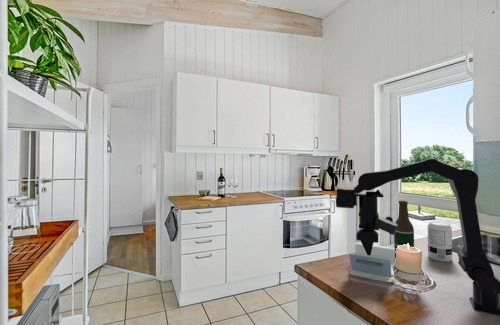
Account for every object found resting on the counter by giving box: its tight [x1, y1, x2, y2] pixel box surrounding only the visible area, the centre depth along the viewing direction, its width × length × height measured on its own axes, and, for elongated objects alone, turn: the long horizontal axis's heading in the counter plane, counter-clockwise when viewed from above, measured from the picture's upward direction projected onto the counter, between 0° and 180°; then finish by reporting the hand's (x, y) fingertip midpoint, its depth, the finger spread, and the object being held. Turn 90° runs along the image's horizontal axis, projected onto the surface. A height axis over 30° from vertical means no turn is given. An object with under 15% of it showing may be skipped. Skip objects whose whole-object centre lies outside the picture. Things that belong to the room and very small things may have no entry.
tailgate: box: [349, 253, 391, 278], centre depth 86 cm, size 2×13×8 cm
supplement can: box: [427, 221, 453, 263], centre depth 106 cm, size 8×8×15 cm
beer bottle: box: [393, 200, 415, 251], centre depth 111 cm, size 8×8×24 cm
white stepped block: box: [350, 242, 396, 283], centre depth 95 cm, size 14×14×8 cm
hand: (368, 255), depth 85 cm, fingers closed
